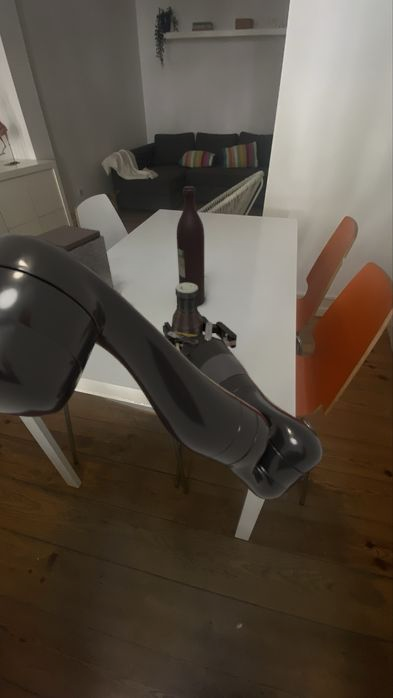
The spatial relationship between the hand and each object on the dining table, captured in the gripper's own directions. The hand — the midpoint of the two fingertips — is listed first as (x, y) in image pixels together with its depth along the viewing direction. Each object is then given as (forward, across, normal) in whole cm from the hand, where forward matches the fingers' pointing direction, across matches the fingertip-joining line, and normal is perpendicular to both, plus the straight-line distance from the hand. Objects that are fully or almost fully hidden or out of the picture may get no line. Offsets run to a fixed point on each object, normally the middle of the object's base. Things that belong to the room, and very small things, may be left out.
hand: (182, 322), depth 63 cm
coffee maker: (+34, +15, +11) cm, 38 cm away
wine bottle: (+25, -12, +11) cm, 30 cm away
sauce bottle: (-2, 0, +11) cm, 11 cm away
